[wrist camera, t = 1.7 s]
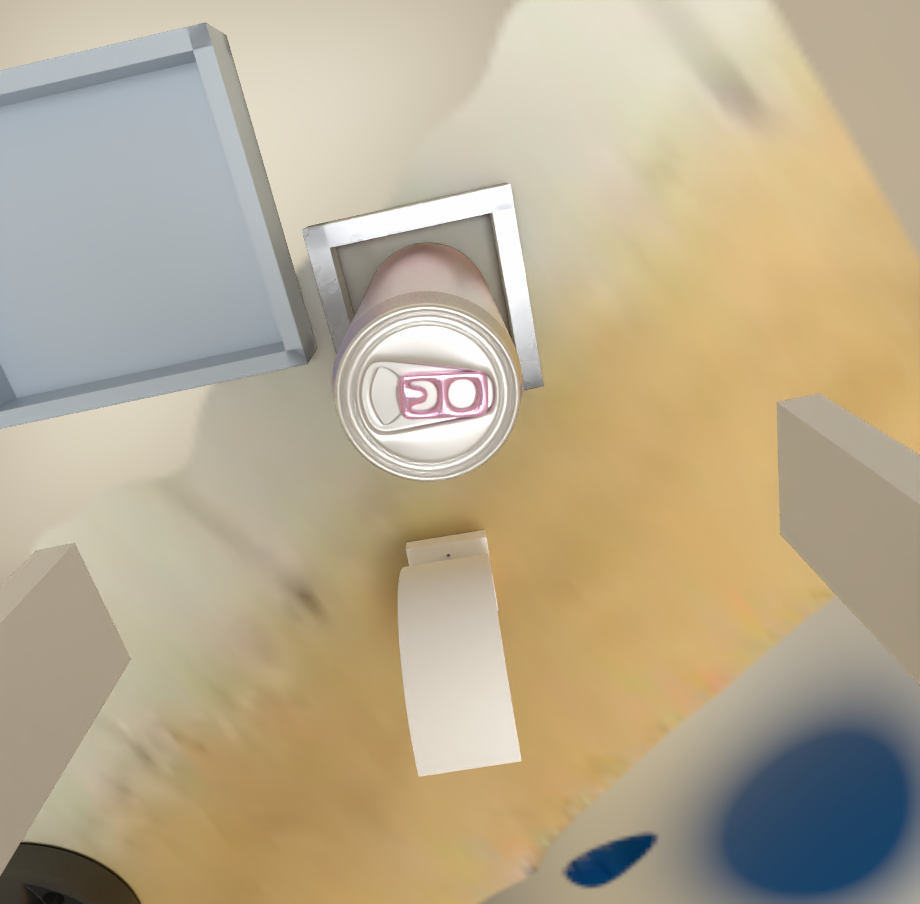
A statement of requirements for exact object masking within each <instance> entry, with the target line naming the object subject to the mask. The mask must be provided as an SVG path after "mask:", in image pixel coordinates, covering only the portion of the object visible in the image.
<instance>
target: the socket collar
mask: <svg viewBox="0 0 920 904" xmlns="http://www.w3.org/2000/svg"><path fill="white" fill-rule="evenodd" d="M488 213H490V218H491V224H492V230H493V235H494V241H495V246H496V252H497V258H498V263H499V269H500V274H501V280H502V286H503V291H504V297H505V303H506V308H507V314H508V319H509V325H510V331H511V336H512V342H513V344H514V346H515V348H516V351H517V353H518V357H519V360H520V364H521V370H522V382H523V383H522V391H523V390H527V389H532V388H537V387H542V386H544V385H543V379H542V373H541V366H540V360H539V354H538V348H537V342H536V336H535V330H534V324H533V318H532V312H531V306H530V300H529V294H528V288H527V281H526V275H525V269H524V263H523V257H522V251H521V245H520V239H519V233H518V227H517V221H516V215H515V209H514V202H513V196H512V190H511V184H508V183H503V184H499V185H494V186H489V187H485V188H480V189H476V190H471V191H467V192H462V193H458V194H453V195H448V196H444V197H439V198H435V199H430V200H426V201H421V202H417V203H412V204H407V205H403V206H398V207H394V208H389V209H385V210H380V211H376V212H371V213H366V214H362V215H357V216H353V217H348V218H344V219H339V220H335V221H330V222H326V223H321V224H316V225H312V226H308V227H306V228H305V229H303V230H302V233H303V236H304V240H305V243H306V247H307V251H308V254H309V258H310V261H311V265H312V269H313V272H314V276H315V279H316V283H317V286H318V290H319V294H320V297H321V301H322V304H323V308H324V311H325V315H326V319H327V322H328V326H329V329H330V333H331V336H332V340H333V344H334V347H335V351H336V354H337V353H338V350H339V347H340V345H341V343H342V341H343V339H344V337H345V335H346V333H347V331H348V329H349V327H350V324H351V322H352V320H353V318H354V313H353V309H352V305H351V302H350V298H349V294H348V290H347V287H346V283H345V279H344V275H343V271H342V268H341V264H340V260H339V256H338V252H337V249H336V246H341V245H345V244H350V243H355V242H359V241H364V240H368V239H373V238H378V237H382V236H387V235H391V234H396V233H401V232H405V231H410V230H414V229H419V228H423V227H428V226H433V225H437V224H442V223H446V222H451V221H456V220H460V219H465V218H469V217H474V216H479V215H483V214H488Z"/></svg>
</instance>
